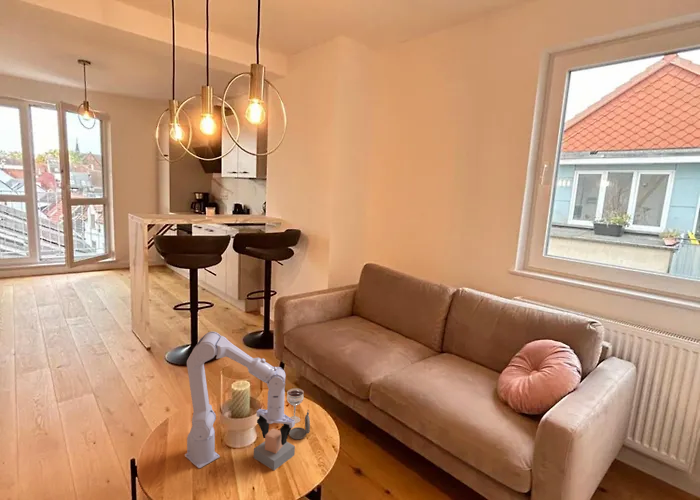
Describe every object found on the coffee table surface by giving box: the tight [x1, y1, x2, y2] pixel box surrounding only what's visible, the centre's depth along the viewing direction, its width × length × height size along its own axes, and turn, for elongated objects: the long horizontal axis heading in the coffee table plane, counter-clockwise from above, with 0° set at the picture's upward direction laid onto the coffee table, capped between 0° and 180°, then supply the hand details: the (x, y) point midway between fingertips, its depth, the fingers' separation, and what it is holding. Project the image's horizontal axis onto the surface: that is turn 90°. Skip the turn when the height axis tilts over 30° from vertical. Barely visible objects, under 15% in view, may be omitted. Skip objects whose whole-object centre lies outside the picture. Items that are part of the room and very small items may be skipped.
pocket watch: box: [288, 410, 311, 440], centre depth 151 cm, size 8×8×10 cm
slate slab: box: [253, 440, 296, 471], centre depth 138 cm, size 10×10×4 cm
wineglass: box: [286, 387, 305, 424], centre depth 160 cm, size 7×7×12 cm
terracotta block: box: [264, 428, 283, 453], centre depth 137 cm, size 4×4×6 cm
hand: (274, 439), depth 137 cm, fingers open, 7 cm apart
